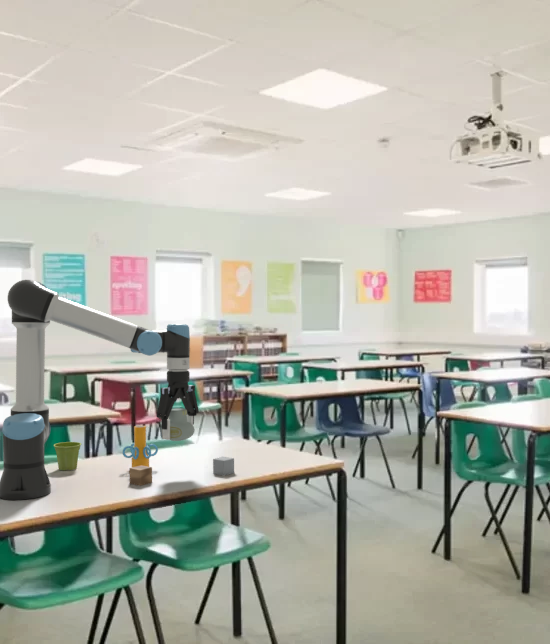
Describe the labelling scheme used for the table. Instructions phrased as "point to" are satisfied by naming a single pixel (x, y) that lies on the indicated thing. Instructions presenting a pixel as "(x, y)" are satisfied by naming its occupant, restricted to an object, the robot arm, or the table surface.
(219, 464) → the grey block
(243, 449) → the table surface
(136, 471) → the walnut block
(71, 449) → the plant pot
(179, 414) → the air freshener
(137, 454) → the cylinder
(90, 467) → the table surface
